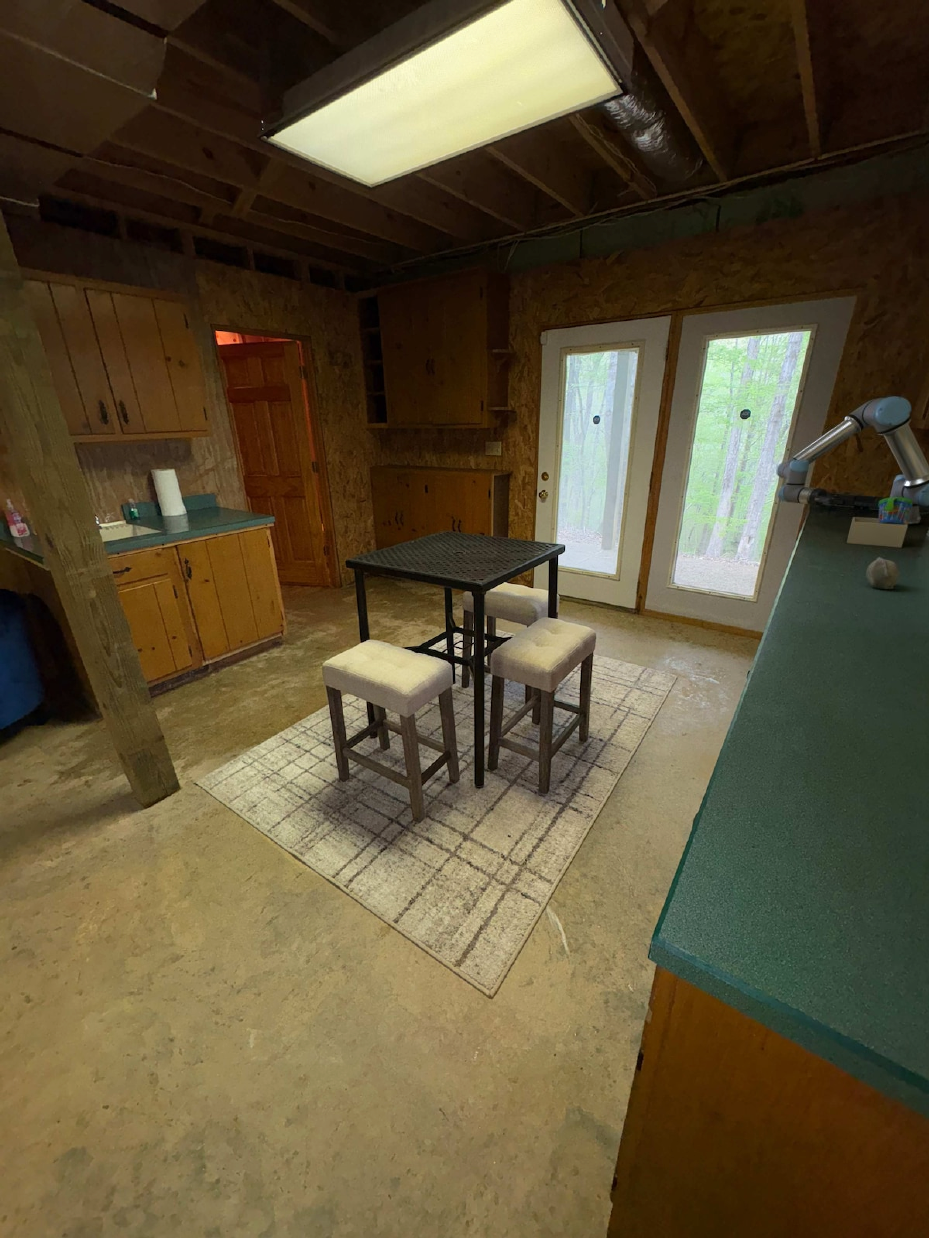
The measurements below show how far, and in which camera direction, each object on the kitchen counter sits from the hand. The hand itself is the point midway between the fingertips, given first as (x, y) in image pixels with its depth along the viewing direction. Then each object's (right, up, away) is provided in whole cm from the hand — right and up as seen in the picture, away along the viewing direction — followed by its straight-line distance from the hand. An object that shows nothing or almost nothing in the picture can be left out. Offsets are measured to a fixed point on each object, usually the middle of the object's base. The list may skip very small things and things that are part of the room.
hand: (864, 501), depth 205 cm
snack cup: (+3, -12, -9) cm, 15 cm away
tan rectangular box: (+3, -17, -1) cm, 18 cm away
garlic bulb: (-39, -40, -53) cm, 77 cm away
